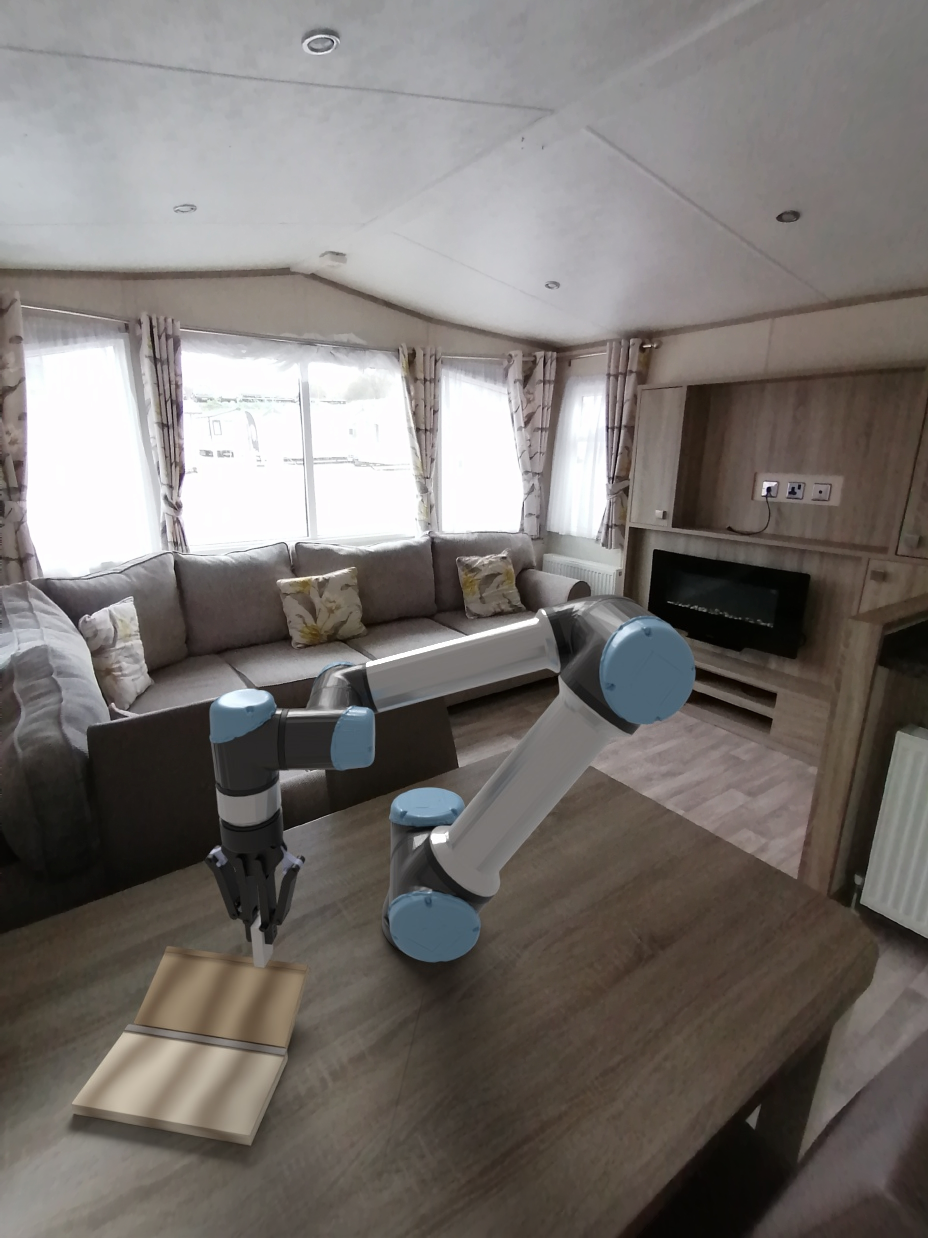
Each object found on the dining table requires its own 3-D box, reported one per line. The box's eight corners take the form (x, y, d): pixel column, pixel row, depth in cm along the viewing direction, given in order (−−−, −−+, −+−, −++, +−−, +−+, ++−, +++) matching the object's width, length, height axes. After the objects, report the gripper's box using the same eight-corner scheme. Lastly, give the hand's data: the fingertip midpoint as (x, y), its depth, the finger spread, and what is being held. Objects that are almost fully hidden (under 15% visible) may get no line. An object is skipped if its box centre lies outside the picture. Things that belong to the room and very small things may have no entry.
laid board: (287, 1059, 78) (286, 1049, 77) (250, 1146, 68) (249, 1134, 68) (130, 1034, 81) (128, 1024, 80) (73, 1114, 71) (70, 1102, 71)
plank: (310, 968, 85) (307, 965, 84) (287, 1049, 79) (284, 1046, 78) (171, 949, 88) (167, 945, 87) (138, 1026, 82) (133, 1023, 80)
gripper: (311, 798, 80) (319, 944, 86) (218, 788, 81) (233, 932, 88) (287, 833, 72) (298, 989, 79) (185, 822, 74) (204, 975, 81)
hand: (263, 959), depth 84 cm, fingers closed
